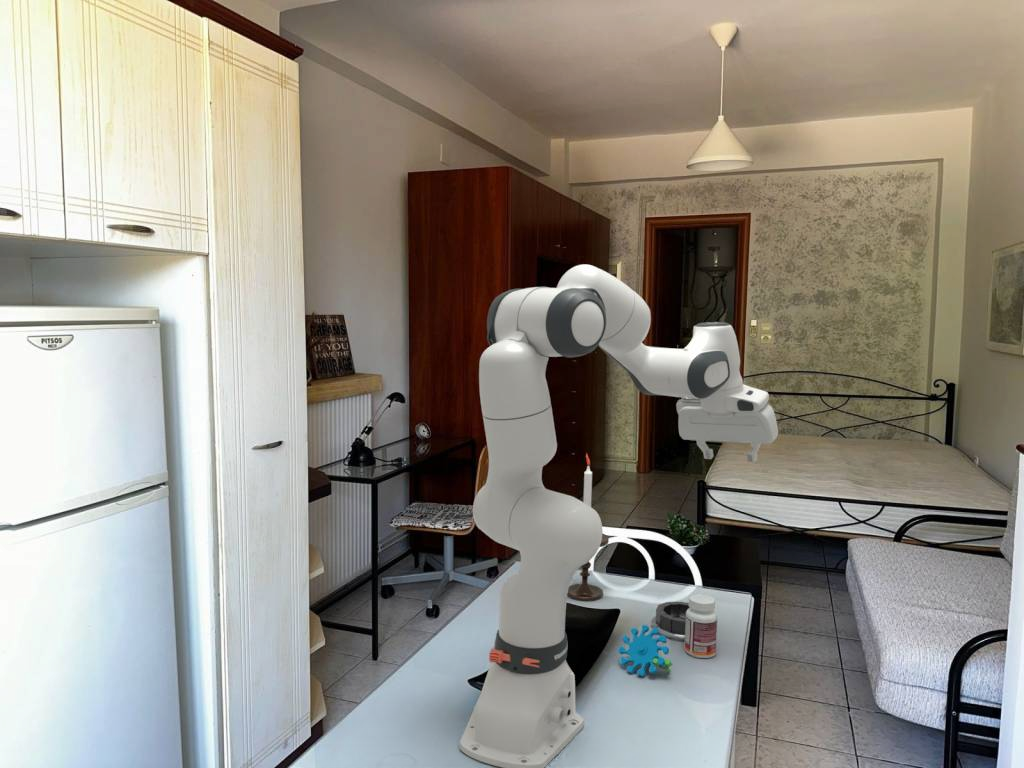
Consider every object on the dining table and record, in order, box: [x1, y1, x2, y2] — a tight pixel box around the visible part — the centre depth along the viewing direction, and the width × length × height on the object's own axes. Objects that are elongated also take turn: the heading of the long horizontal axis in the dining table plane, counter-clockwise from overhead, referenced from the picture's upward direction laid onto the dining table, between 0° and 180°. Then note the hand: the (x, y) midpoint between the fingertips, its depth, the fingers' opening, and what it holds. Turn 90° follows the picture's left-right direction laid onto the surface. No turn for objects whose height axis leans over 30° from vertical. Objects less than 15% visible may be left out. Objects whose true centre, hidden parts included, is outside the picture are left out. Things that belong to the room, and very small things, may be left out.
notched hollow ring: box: [651, 600, 690, 643], centre depth 157 cm, size 13×13×4 cm
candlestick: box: [567, 452, 610, 602], centre depth 175 cm, size 11×11×35 cm
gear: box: [617, 624, 673, 678], centre depth 139 cm, size 11×6×10 cm
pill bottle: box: [684, 593, 718, 659], centre depth 146 cm, size 6×6×11 cm
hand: (730, 459), depth 151 cm, fingers open, 8 cm apart
